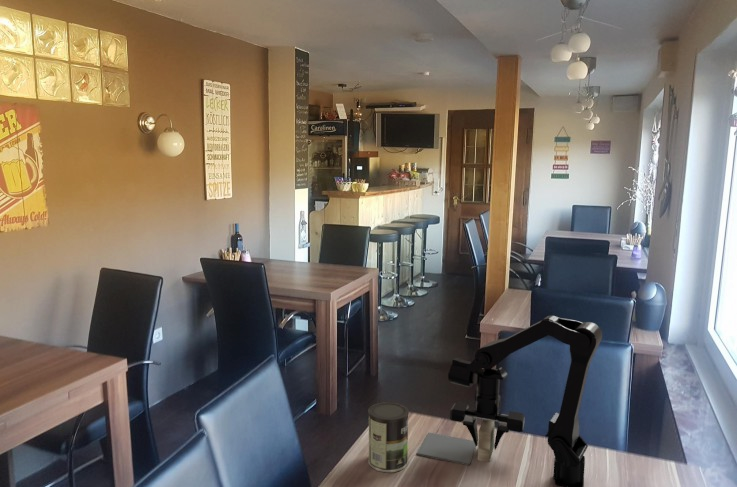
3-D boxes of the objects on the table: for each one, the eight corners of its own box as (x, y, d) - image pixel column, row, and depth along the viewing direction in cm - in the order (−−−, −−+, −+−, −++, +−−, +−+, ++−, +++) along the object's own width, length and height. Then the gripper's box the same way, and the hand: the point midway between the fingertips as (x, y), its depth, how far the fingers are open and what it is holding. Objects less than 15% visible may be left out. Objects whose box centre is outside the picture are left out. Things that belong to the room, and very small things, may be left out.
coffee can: (410, 453, 144) (410, 403, 142) (405, 475, 134) (405, 421, 132) (372, 449, 146) (372, 400, 144) (364, 470, 136) (364, 417, 134)
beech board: (494, 449, 146) (495, 421, 145) (490, 462, 140) (491, 433, 138) (482, 446, 147) (483, 419, 146) (477, 459, 141) (478, 431, 140)
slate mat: (477, 443, 149) (477, 441, 149) (469, 465, 138) (469, 463, 138) (428, 434, 154) (428, 432, 154) (416, 454, 143) (416, 452, 143)
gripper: (527, 384, 145) (525, 439, 147) (458, 375, 152) (457, 427, 154) (523, 401, 135) (521, 459, 137) (450, 390, 141) (448, 446, 144)
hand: (485, 447), depth 143 cm, fingers open, 5 cm apart
